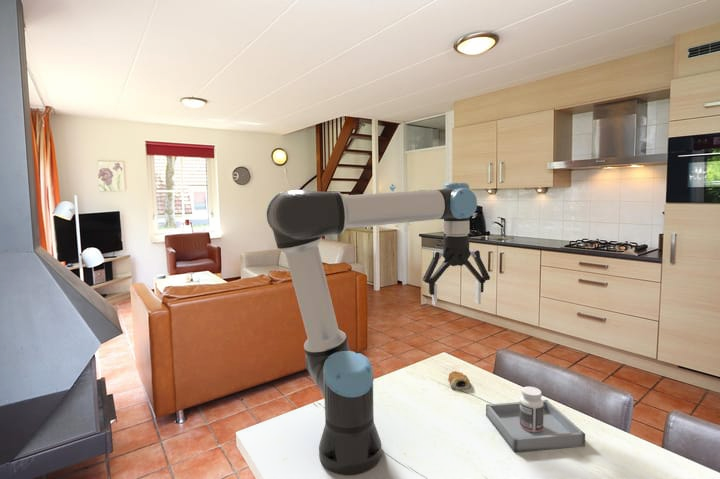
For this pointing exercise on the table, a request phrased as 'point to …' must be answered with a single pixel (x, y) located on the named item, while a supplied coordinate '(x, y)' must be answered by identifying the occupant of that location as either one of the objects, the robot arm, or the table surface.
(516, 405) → the tray
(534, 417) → the pill bottle
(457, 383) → the pastry
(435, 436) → the table surface
